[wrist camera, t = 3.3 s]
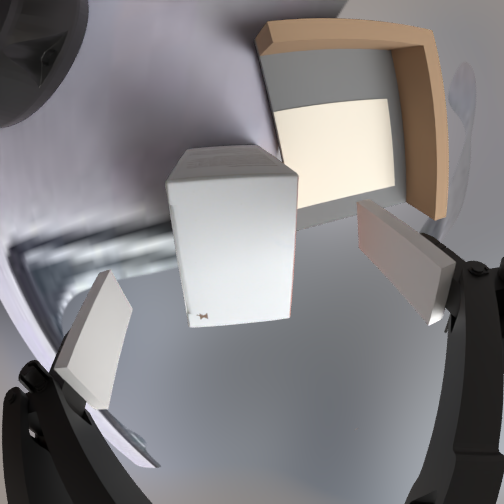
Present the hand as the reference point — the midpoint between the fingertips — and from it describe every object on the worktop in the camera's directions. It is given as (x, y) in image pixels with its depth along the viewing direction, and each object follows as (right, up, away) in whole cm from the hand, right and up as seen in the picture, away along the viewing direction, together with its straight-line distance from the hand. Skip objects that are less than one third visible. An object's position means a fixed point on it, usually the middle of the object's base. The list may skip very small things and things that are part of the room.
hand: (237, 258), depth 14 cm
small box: (-2, +5, +8) cm, 10 cm away
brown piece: (+9, +11, +6) cm, 15 cm away
